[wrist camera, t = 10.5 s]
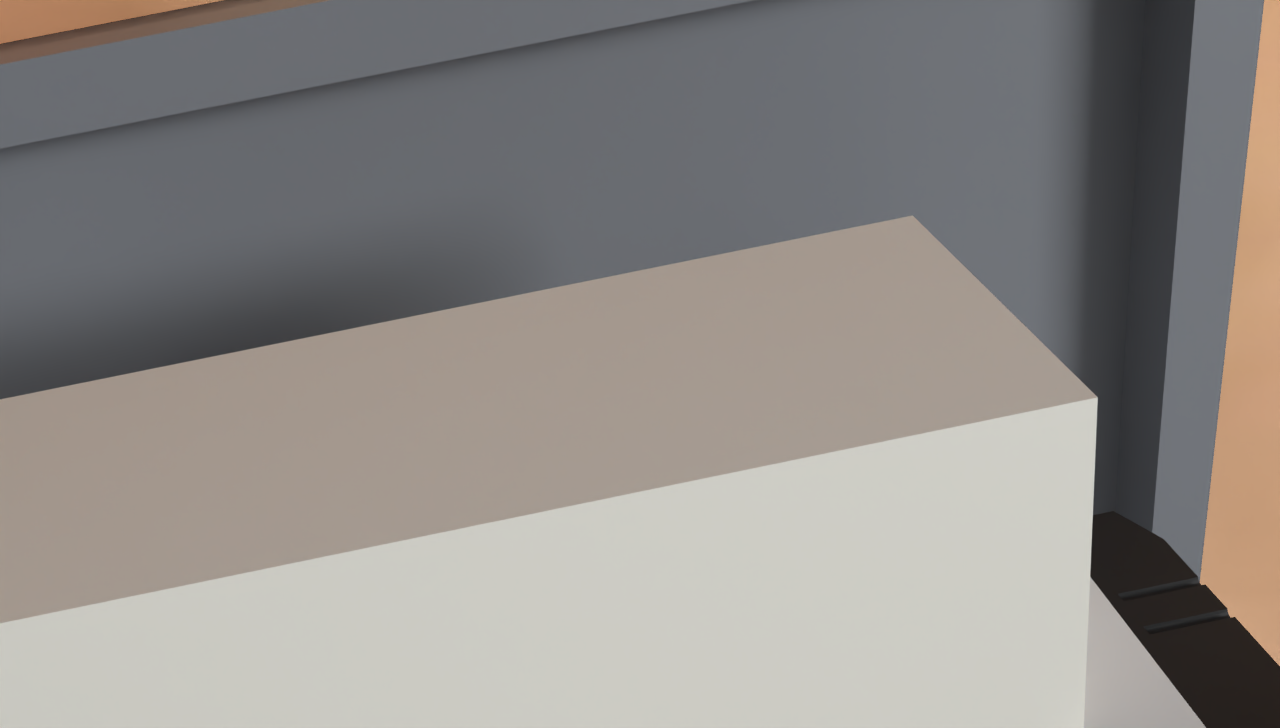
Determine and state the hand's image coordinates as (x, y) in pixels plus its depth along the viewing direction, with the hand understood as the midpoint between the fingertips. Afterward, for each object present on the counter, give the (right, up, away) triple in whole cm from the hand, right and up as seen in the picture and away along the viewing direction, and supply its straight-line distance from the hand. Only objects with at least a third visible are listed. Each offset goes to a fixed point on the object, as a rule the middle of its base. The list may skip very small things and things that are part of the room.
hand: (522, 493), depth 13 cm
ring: (0, -1, -3) cm, 3 cm away
